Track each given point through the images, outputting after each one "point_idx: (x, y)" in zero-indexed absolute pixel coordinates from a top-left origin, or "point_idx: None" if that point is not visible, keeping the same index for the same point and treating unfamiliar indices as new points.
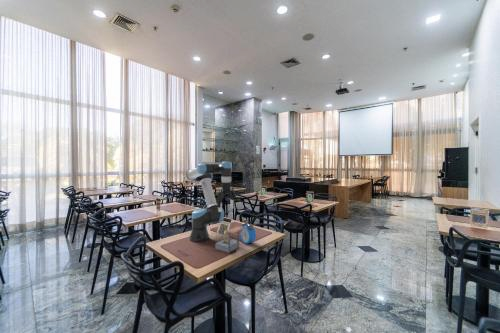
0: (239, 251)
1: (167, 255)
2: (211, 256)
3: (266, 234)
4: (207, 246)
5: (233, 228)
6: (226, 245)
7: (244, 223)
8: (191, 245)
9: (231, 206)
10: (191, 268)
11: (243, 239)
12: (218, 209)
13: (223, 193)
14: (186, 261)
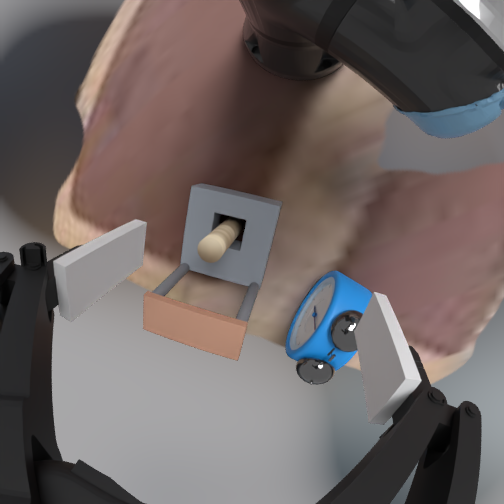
0: (220, 294)
1: (100, 57)
2: (138, 206)
3: (436, 342)
4: (215, 129)
5: (195, 314)
6: (191, 250)
7: (337, 342)
8: (201, 55)
9: (368, 325)
10: (65, 194)
11: (322, 289)
12: (120, 228)
13: (32, 464)
14: (85, 148)
